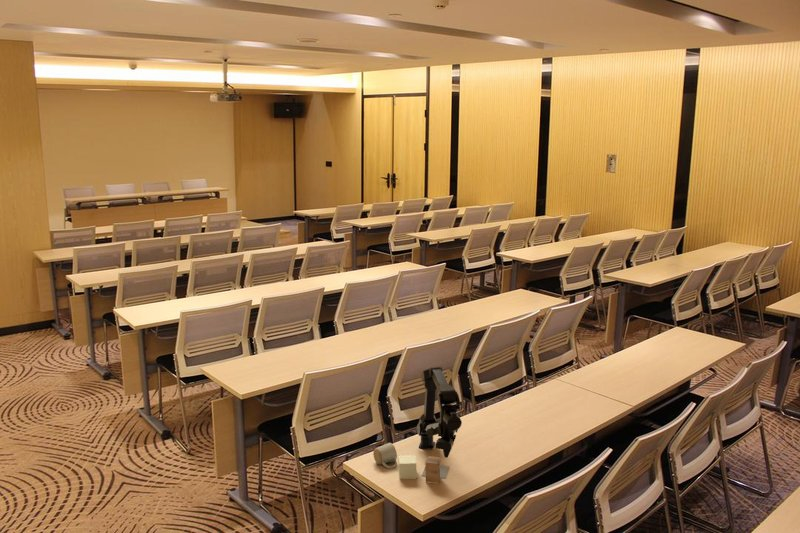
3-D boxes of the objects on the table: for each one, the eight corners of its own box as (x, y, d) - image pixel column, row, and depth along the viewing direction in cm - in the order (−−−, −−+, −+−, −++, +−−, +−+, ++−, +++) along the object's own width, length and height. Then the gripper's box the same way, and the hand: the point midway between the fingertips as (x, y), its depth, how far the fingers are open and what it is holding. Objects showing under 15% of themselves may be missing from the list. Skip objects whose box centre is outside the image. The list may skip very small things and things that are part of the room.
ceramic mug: (372, 460, 296) (372, 444, 294) (388, 455, 300) (388, 439, 298) (384, 471, 287) (384, 454, 285) (401, 466, 291) (401, 449, 290)
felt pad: (426, 464, 292) (426, 464, 292) (449, 466, 290) (449, 466, 290) (421, 476, 283) (421, 475, 283) (445, 478, 280) (445, 478, 280)
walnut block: (427, 475, 283) (427, 456, 280) (439, 477, 281) (439, 457, 279) (425, 482, 278) (425, 462, 276) (437, 483, 277) (437, 463, 274)
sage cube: (398, 470, 287) (398, 455, 286) (415, 470, 288) (415, 455, 286) (399, 479, 281) (399, 463, 279) (416, 478, 281) (416, 463, 279)
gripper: (431, 408, 282) (431, 443, 286) (422, 427, 265) (422, 464, 268) (458, 410, 280) (457, 445, 283) (451, 430, 262) (450, 467, 265)
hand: (446, 455), depth 275 cm, fingers open, 3 cm apart
